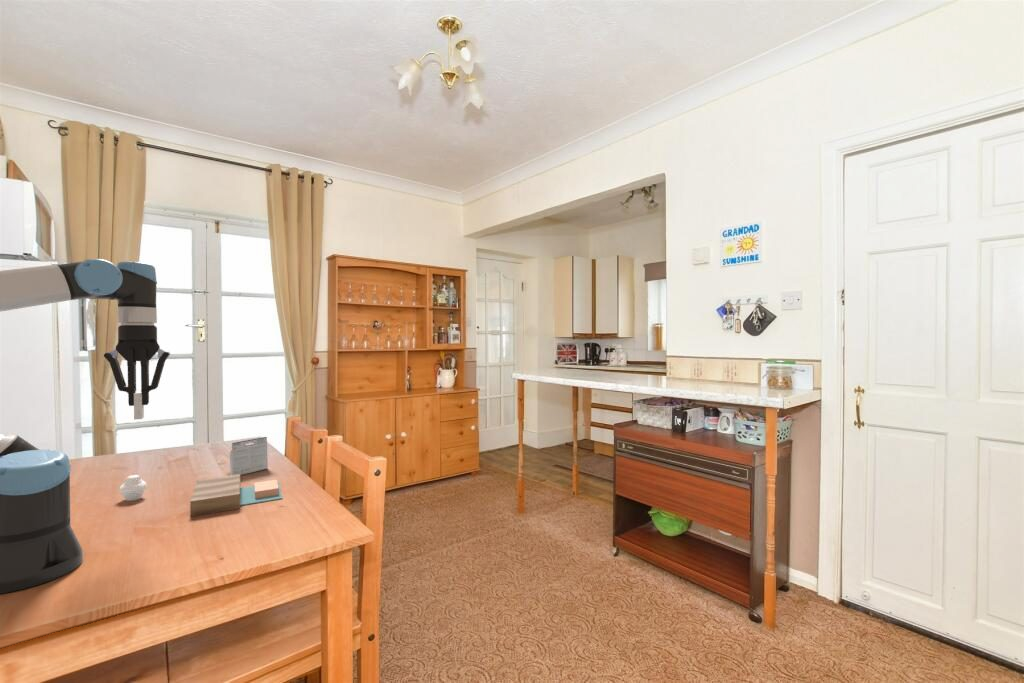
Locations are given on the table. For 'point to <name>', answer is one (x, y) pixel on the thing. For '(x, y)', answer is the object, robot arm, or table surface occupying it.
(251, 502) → the mat
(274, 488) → the block
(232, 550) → the table surface
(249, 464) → the ink box
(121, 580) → the table surface
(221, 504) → the brown wooden slab
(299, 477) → the table surface
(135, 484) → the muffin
